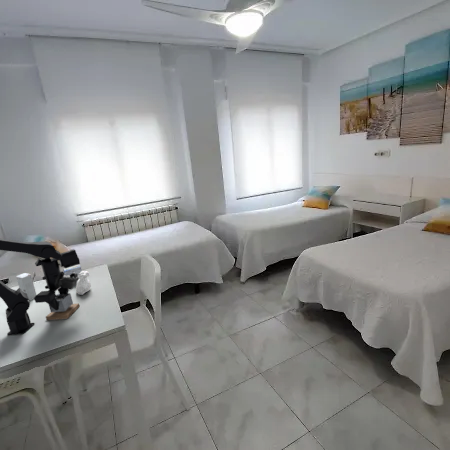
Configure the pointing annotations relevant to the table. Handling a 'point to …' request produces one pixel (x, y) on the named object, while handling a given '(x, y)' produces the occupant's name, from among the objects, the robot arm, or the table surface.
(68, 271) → the medicine box
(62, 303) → the grey square sleeve
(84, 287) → the bust
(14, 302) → the robot arm
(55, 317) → the post stand
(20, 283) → the skincare box
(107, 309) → the table surface
